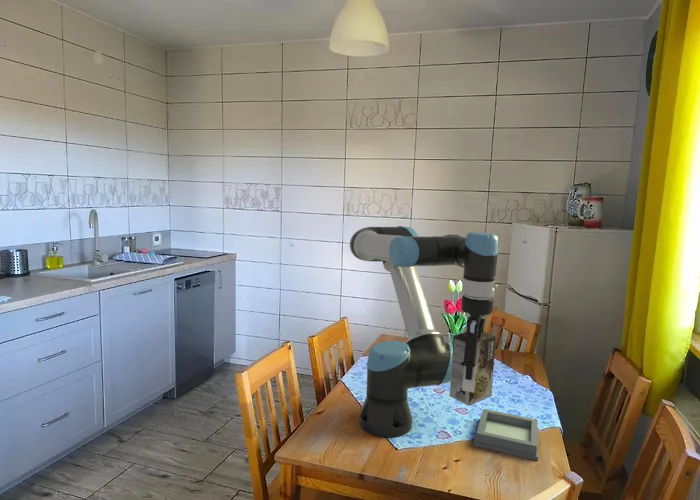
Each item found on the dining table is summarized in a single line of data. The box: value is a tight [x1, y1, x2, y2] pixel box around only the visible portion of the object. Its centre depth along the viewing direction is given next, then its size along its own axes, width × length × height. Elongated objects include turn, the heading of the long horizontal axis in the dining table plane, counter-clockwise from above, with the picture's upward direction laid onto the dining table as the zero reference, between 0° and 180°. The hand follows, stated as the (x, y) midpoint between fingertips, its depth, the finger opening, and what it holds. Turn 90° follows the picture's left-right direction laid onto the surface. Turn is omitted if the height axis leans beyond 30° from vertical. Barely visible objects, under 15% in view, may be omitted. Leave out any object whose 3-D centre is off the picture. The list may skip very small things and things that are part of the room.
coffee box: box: [449, 331, 496, 406], centre depth 117 cm, size 9×6×16 cm
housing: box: [473, 408, 540, 461], centre depth 129 cm, size 16×16×4 cm
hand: (471, 381), depth 117 cm, fingers closed on coffee box, 10 cm apart
